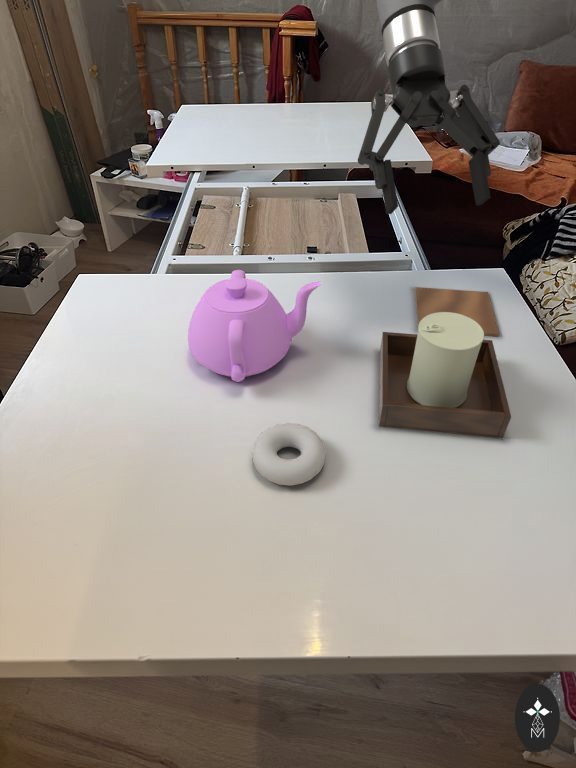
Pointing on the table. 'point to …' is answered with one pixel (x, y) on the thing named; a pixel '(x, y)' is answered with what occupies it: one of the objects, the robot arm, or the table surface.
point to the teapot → (244, 326)
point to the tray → (473, 417)
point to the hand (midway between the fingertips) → (438, 206)
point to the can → (444, 359)
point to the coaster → (457, 306)
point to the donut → (283, 468)
